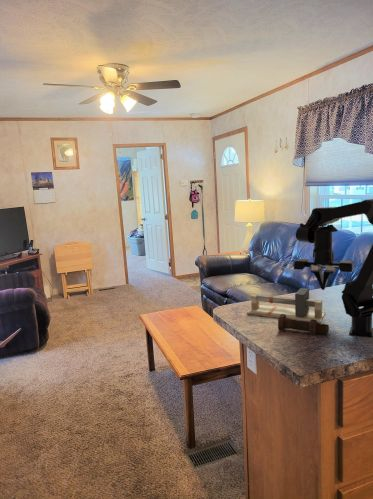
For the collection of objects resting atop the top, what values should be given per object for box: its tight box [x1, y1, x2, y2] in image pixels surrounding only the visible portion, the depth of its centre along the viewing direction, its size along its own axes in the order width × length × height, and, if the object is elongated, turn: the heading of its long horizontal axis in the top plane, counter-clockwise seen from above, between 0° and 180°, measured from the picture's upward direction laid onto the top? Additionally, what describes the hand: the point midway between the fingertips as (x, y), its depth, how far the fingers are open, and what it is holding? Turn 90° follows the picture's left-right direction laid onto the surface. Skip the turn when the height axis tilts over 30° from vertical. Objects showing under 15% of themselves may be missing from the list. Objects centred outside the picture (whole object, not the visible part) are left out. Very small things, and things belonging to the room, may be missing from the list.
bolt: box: [277, 314, 330, 336], centre depth 120 cm, size 6×5×15 cm
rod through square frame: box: [246, 293, 327, 324], centre depth 137 cm, size 10×26×6 cm, turn 60°
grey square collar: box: [294, 287, 310, 317], centre depth 134 cm, size 8×3×8 cm, turn 150°
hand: (323, 289), depth 129 cm, fingers closed
